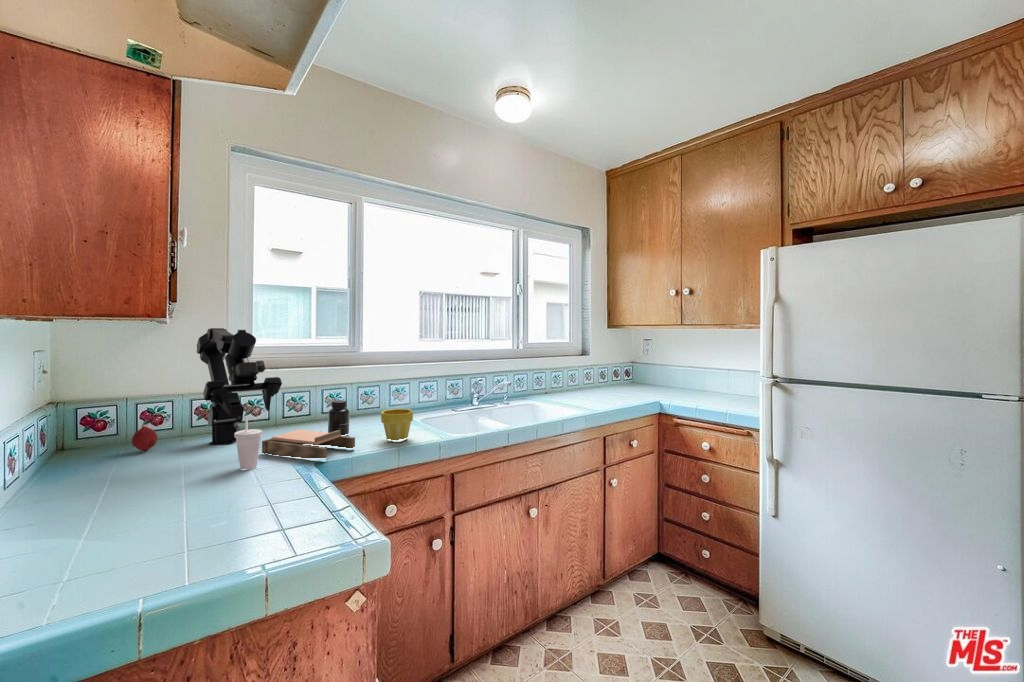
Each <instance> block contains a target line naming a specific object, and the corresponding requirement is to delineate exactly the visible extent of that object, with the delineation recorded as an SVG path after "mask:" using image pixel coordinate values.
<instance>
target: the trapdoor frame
mask: <svg viewBox="0 0 1024 682" xmlns="http://www.w3.org/2000/svg"><path fill="white" fill-rule="evenodd" d="M318 445H331V446H338V447H346V448H353V447H355V448H356V436H355V437H354V436H349V435H348V436H341V437H338V438H335V439H332V440H329V441H326V442H323V443H321V444H318ZM262 453H264V454H265V453H268V454H272V455H279V456H291V457H301V458H326V457H327V458H328V448H327V447H319V446H311V445H303V444H295V443H286V442H278V441H275V440H272V437H271V438H268V439H265V440H261V454H262ZM268 454H267V455H268Z"/></svg>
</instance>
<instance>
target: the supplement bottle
mask: <svg viewBox="0 0 1024 682" xmlns="http://www.w3.org/2000/svg"><path fill="white" fill-rule="evenodd" d="M347 406H348V405H347V400H332V401H331V409H329V411H328V414H327V415H328V416H327V433H331V432H334V431H337V430H341V435H345V434H348V433H349V434H350V410H349V409H348V408H347Z"/></svg>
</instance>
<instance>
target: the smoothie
mask: <svg viewBox="0 0 1024 682" xmlns="http://www.w3.org/2000/svg"><path fill="white" fill-rule="evenodd" d="M248 417H249V416H248V415H245V416H244V419H245V420H244V429H243V430H239V431H237V432H235V433H234V437H235V438H236V441H235V442H236V449H237V455H238V461H239V469H240V470H241V469H251V470H253V469H252V468H255V467H256V466H258V460H259V459H258V458H259V453H260V447H261V446H260V445H261V441H262V439H261V438H262V435H263V430H262V429H259V428H249V427H248V426H249V424H248V422H249V421H248V420H249V419H248ZM248 428H249V429H248ZM256 468H257V467H256ZM256 468H255V469H256Z"/></svg>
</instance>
